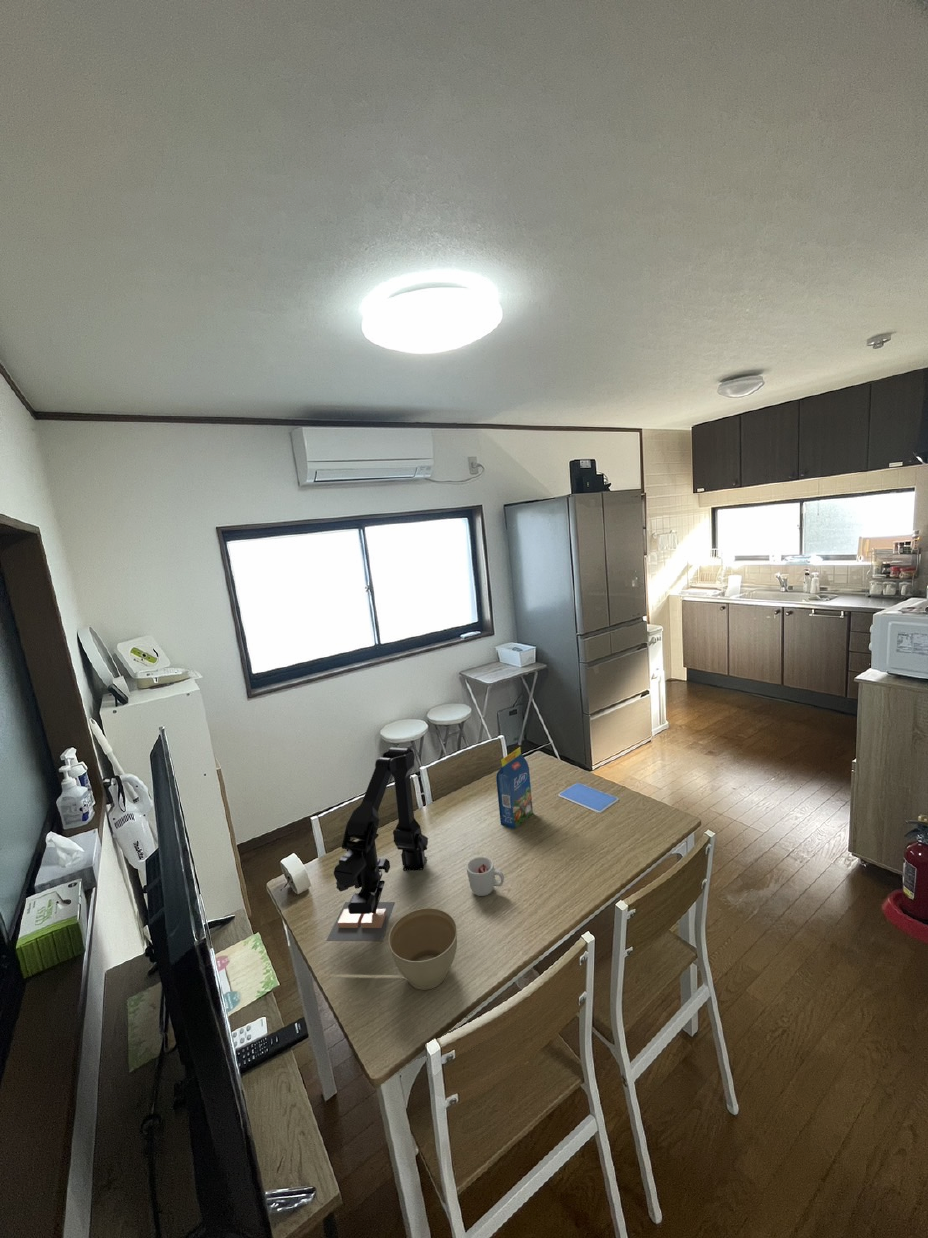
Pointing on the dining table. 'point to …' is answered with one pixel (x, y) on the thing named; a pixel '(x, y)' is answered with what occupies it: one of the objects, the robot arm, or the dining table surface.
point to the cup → (482, 875)
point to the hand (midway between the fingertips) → (374, 912)
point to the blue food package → (514, 790)
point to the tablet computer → (588, 797)
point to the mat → (359, 932)
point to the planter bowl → (424, 946)
